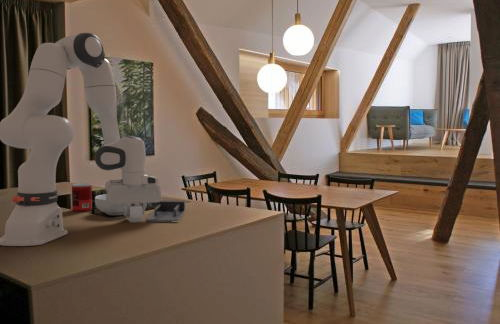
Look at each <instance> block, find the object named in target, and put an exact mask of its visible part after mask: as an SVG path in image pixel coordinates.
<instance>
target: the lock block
mask: <svg viewBox="0 0 500 324" xmlns="http://www.w3.org/2000/svg"><path fill="white" fill-rule="evenodd" d="M142 208H143V205H142V204H141V203H139V204H126V211H129V216H125V217H126V220H127V221H128V222H129V223H141V222H143V215H142Z"/></svg>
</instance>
